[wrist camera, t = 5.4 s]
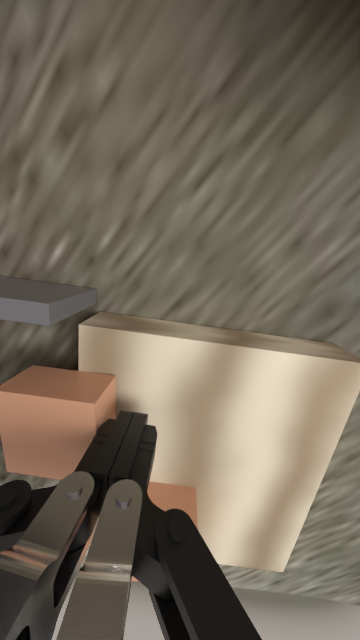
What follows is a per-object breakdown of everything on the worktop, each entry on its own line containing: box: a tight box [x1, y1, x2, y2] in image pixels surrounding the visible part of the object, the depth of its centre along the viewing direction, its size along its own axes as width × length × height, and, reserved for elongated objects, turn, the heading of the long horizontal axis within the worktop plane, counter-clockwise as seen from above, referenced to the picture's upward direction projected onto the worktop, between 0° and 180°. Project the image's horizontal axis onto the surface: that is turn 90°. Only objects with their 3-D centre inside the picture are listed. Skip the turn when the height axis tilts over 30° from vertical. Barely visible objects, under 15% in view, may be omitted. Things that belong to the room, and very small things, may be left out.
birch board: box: [79, 312, 360, 572], centre depth 15 cm, size 16×18×3 cm
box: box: [0, 276, 97, 326], centre depth 14 cm, size 10×21×5 cm, turn 172°
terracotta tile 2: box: [132, 482, 198, 582], centre depth 14 cm, size 5×5×2 cm
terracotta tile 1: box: [0, 365, 116, 480], centre depth 12 cm, size 5×5×2 cm
